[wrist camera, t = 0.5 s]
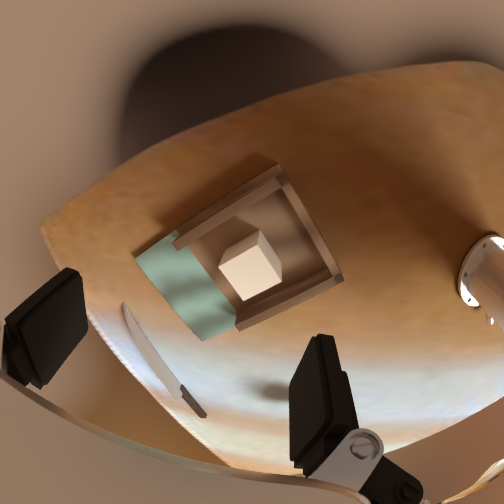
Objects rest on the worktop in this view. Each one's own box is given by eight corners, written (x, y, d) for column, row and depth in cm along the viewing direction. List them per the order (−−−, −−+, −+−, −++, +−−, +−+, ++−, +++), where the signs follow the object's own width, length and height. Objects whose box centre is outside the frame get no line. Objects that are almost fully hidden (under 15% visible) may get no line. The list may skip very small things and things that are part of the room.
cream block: (281, 262, 35) (281, 281, 30) (247, 280, 36) (243, 301, 32) (259, 229, 34) (257, 244, 29) (225, 249, 35) (218, 266, 30)
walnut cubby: (340, 270, 36) (347, 285, 32) (203, 337, 42) (197, 354, 38) (278, 163, 31) (279, 166, 28) (137, 256, 38) (124, 268, 34)
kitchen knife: (204, 426, 48) (114, 313, 37) (199, 426, 48) (109, 314, 38) (207, 410, 52) (125, 298, 41) (203, 410, 52) (121, 299, 41)
